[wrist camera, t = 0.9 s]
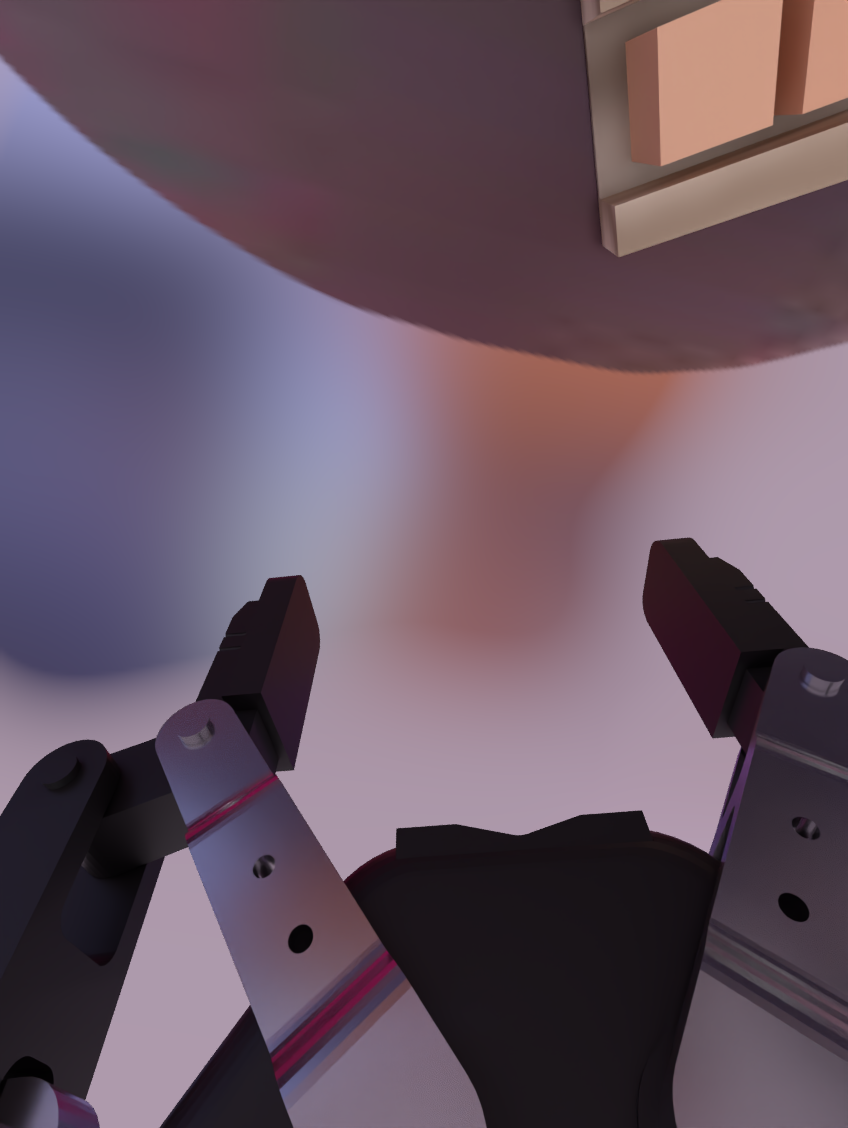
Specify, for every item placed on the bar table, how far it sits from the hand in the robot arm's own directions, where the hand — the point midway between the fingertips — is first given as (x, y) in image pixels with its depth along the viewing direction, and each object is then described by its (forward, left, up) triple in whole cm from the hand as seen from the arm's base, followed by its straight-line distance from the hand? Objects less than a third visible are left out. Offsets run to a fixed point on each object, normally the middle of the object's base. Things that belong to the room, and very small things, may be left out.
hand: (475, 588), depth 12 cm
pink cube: (-6, +12, -21) cm, 25 cm away
